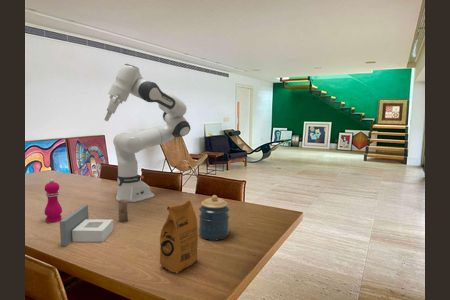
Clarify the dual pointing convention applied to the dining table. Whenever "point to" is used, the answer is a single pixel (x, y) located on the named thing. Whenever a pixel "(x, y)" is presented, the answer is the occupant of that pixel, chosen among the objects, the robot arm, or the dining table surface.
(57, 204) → the pepper mill
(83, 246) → the dining table surface
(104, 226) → the white socket block
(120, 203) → the walnut dowel
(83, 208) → the slate backstop wall
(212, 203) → the canister
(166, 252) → the coffee package
